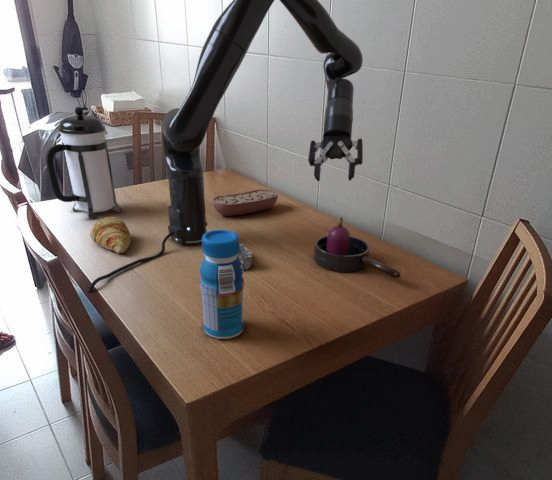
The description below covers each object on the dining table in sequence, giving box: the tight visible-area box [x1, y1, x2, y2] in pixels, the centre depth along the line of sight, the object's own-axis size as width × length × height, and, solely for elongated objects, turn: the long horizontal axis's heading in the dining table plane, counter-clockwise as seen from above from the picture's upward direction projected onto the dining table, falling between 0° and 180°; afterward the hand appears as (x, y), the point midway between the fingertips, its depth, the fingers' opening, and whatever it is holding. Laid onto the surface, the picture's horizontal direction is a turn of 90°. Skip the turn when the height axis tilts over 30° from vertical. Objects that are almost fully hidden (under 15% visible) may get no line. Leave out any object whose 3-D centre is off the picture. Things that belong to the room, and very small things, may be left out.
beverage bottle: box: [199, 229, 245, 340], centre depth 92 cm, size 8×8×20 cm
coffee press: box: [45, 106, 122, 220], centre depth 143 cm, size 17×16×30 cm
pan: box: [313, 235, 371, 273], centre depth 126 cm, size 14×14×4 cm
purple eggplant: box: [326, 216, 351, 256], centre depth 125 cm, size 6×6×11 cm
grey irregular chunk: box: [237, 243, 253, 270], centre depth 123 cm, size 11×8×4 cm
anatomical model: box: [212, 188, 279, 217], centre depth 155 cm, size 23×10×5 cm, turn 124°
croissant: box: [89, 215, 132, 254], centre depth 131 cm, size 21×10×8 cm, turn 32°
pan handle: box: [361, 257, 401, 279], centre depth 117 cm, size 12×2×2 cm, turn 40°
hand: (333, 179), depth 127 cm, fingers open, 8 cm apart
